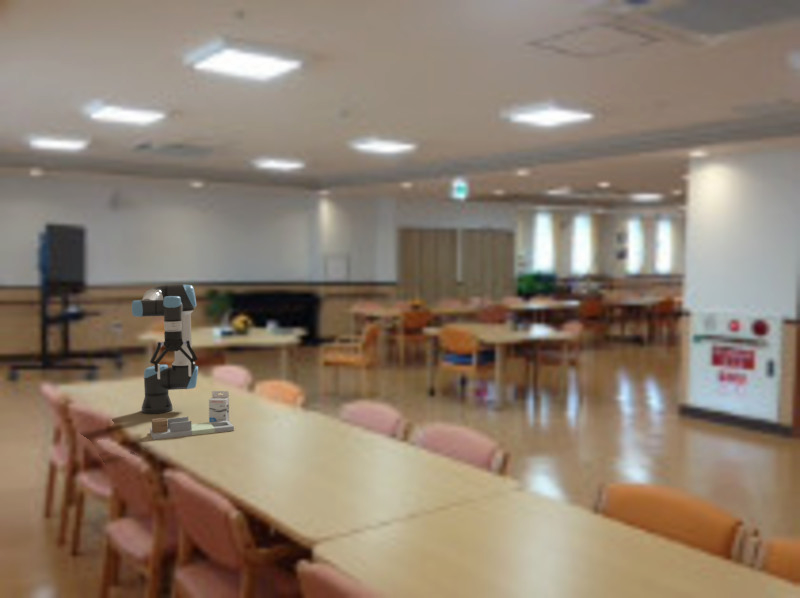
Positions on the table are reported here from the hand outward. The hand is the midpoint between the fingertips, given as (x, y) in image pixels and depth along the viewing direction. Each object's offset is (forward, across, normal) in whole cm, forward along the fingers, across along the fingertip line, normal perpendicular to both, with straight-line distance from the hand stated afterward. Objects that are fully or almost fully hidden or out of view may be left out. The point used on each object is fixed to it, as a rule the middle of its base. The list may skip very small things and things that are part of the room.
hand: (174, 377), depth 325 cm
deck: (+25, +7, -2) cm, 26 cm away
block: (+23, -7, -2) cm, 24 cm away
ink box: (+25, +22, +10) cm, 35 cm away
